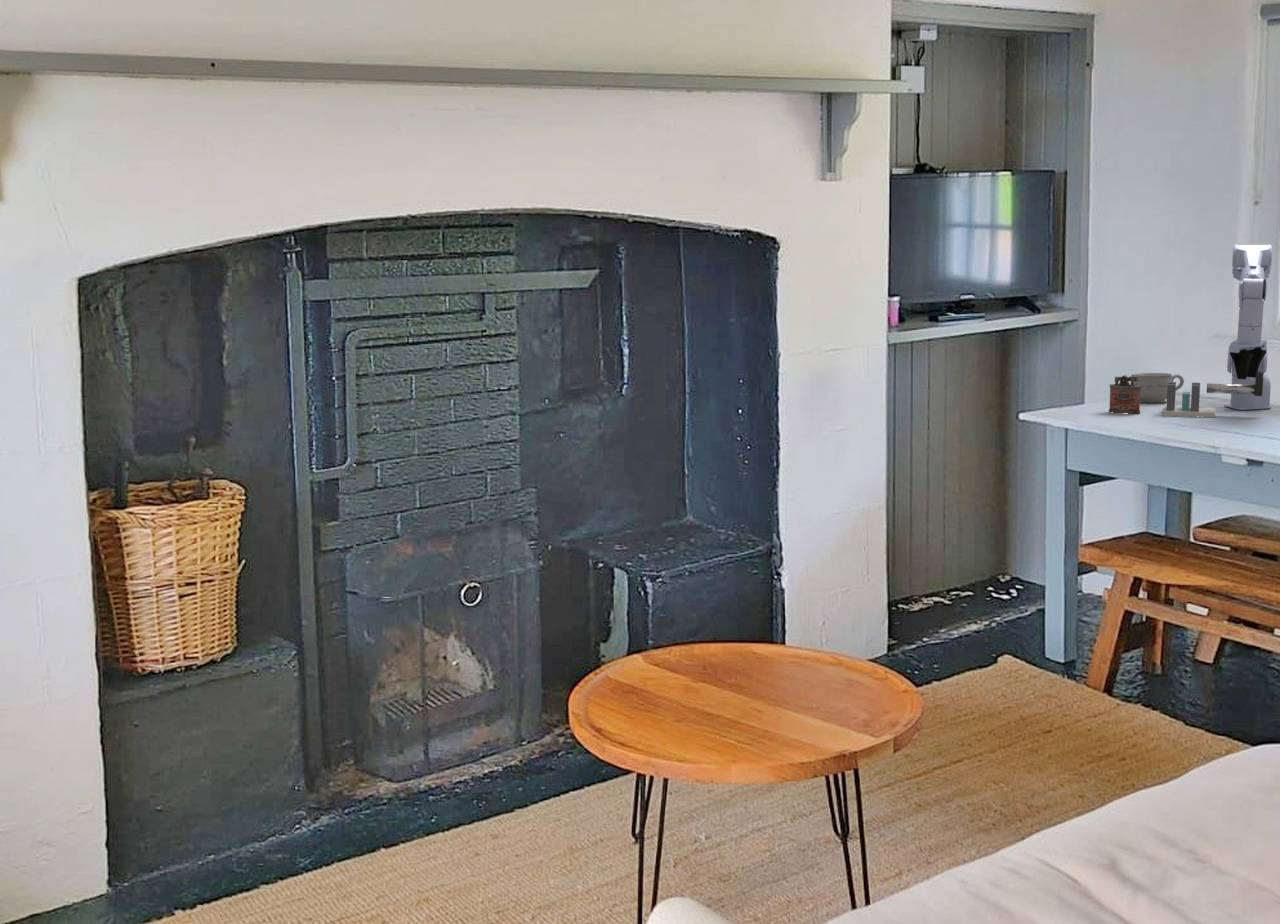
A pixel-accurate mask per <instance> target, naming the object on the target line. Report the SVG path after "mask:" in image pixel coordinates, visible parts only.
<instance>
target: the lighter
mask: <svg viewBox="0 0 1280 924" xmlns="http://www.w3.org/2000/svg"><path fill="white" fill-rule="evenodd" d="M1138 381H1139V378H1138V377H1134V376H1128V375H1126V374H1123V375H1122V376H1114V383H1111V384H1109V409H1108V413H1109V412H1113V413H1112V414H1115V413H1128V414H1127V415H1134V414H1137V415H1141V410H1140V406H1141V402H1140V389H1141V385H1134V382H1138Z"/></svg>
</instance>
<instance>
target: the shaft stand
mask: <svg viewBox="0 0 1280 924" xmlns="http://www.w3.org/2000/svg"><path fill="white" fill-rule="evenodd" d="M1176 387H1177V381H1173V382H1168V386H1167V399H1166V405H1165V406H1162V409H1161V410H1162V411H1161V416H1162V417H1181V416H1199V417H1198V418H1211V417H1215V418H1216V407H1200V393H1201V392H1200V391H1201V383H1200V382H1191V393H1190V406H1189V411H1182V406H1176V392H1177V391H1176ZM1202 416H1203V417H1202Z"/></svg>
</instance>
